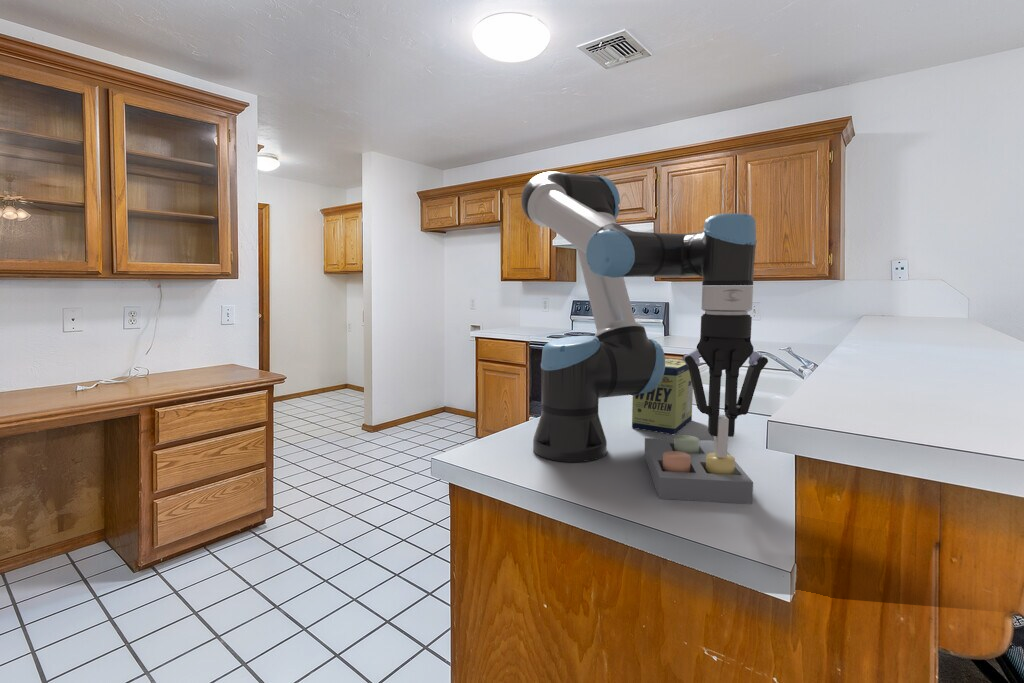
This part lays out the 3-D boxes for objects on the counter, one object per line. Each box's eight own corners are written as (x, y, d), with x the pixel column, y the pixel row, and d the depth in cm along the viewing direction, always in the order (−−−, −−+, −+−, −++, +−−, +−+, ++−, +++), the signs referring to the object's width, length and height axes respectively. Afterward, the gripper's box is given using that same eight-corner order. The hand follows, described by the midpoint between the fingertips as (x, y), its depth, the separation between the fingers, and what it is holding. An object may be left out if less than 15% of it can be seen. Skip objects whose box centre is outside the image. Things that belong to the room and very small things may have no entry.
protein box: (631, 428, 119) (632, 364, 117) (652, 414, 132) (653, 356, 130) (675, 435, 113) (677, 368, 111) (692, 420, 126) (694, 359, 124)
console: (659, 498, 79) (659, 477, 79) (644, 455, 100) (644, 438, 99) (752, 503, 77) (753, 482, 77) (717, 458, 98) (718, 440, 97)
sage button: (676, 457, 91) (676, 441, 91) (672, 449, 96) (672, 434, 95) (701, 458, 91) (701, 442, 90) (695, 450, 95) (696, 435, 95)
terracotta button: (664, 476, 82) (665, 459, 82) (660, 467, 86) (661, 450, 86) (692, 478, 81) (693, 460, 81) (687, 468, 86) (687, 451, 85)
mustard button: (709, 478, 81) (709, 461, 81) (702, 469, 85) (703, 452, 85) (737, 480, 80) (738, 462, 80) (729, 470, 85) (730, 453, 84)
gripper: (688, 314, 77) (683, 460, 80) (778, 314, 75) (769, 464, 78) (679, 311, 85) (675, 445, 87) (761, 311, 83) (754, 449, 85)
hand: (720, 454), depth 82 cm, fingers closed
